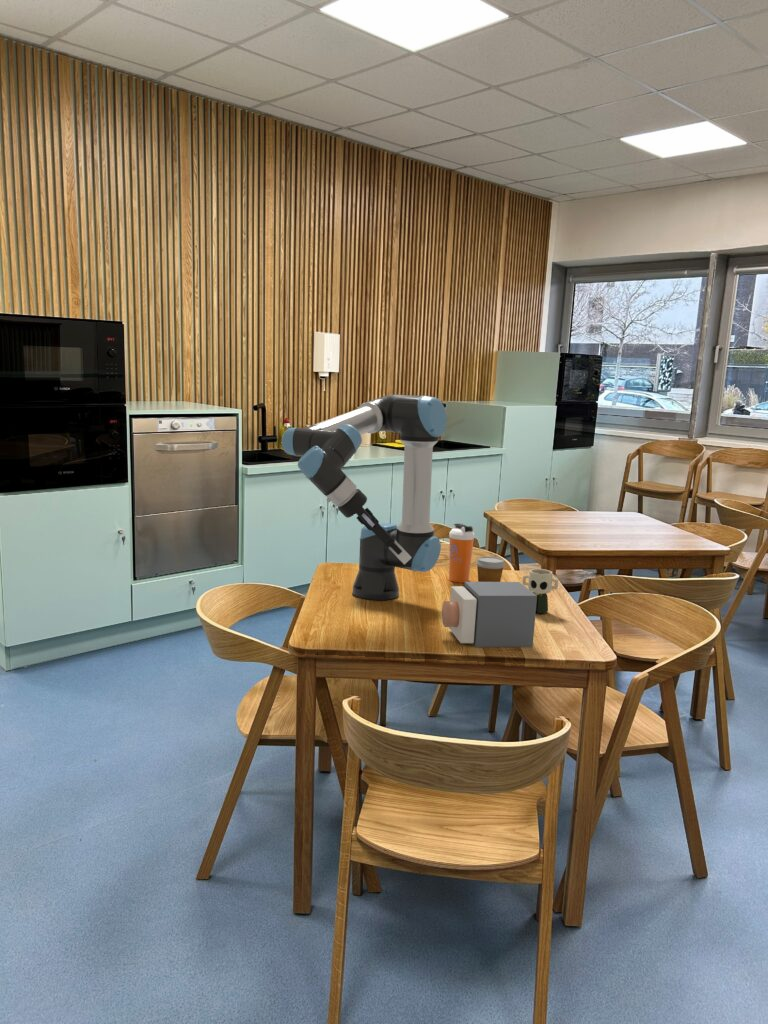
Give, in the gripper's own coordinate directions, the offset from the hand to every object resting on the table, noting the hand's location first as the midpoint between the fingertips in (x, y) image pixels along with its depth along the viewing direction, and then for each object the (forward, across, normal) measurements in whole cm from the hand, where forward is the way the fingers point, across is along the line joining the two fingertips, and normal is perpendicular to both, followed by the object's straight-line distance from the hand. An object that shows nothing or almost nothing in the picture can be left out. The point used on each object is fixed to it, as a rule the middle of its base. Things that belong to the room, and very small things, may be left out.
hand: (407, 560), depth 200 cm
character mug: (+50, -24, +18) cm, 58 cm away
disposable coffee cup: (+43, -43, +10) cm, 62 cm away
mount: (+34, 0, +3) cm, 34 cm away
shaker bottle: (+39, -61, +7) cm, 73 cm away
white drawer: (+30, 0, 0) cm, 30 cm away
